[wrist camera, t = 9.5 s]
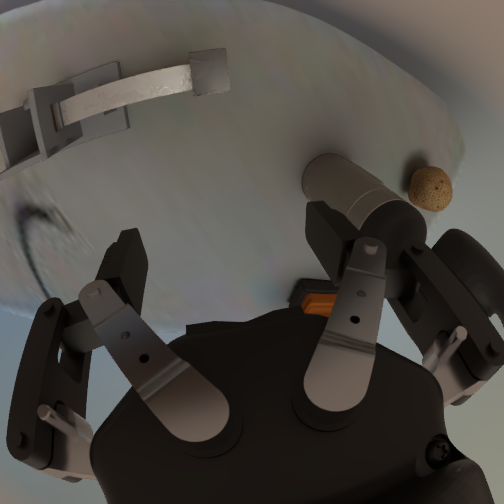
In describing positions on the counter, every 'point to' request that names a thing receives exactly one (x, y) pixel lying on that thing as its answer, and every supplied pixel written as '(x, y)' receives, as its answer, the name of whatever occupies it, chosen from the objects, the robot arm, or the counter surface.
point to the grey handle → (153, 85)
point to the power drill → (315, 297)
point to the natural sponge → (430, 189)
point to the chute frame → (41, 122)
